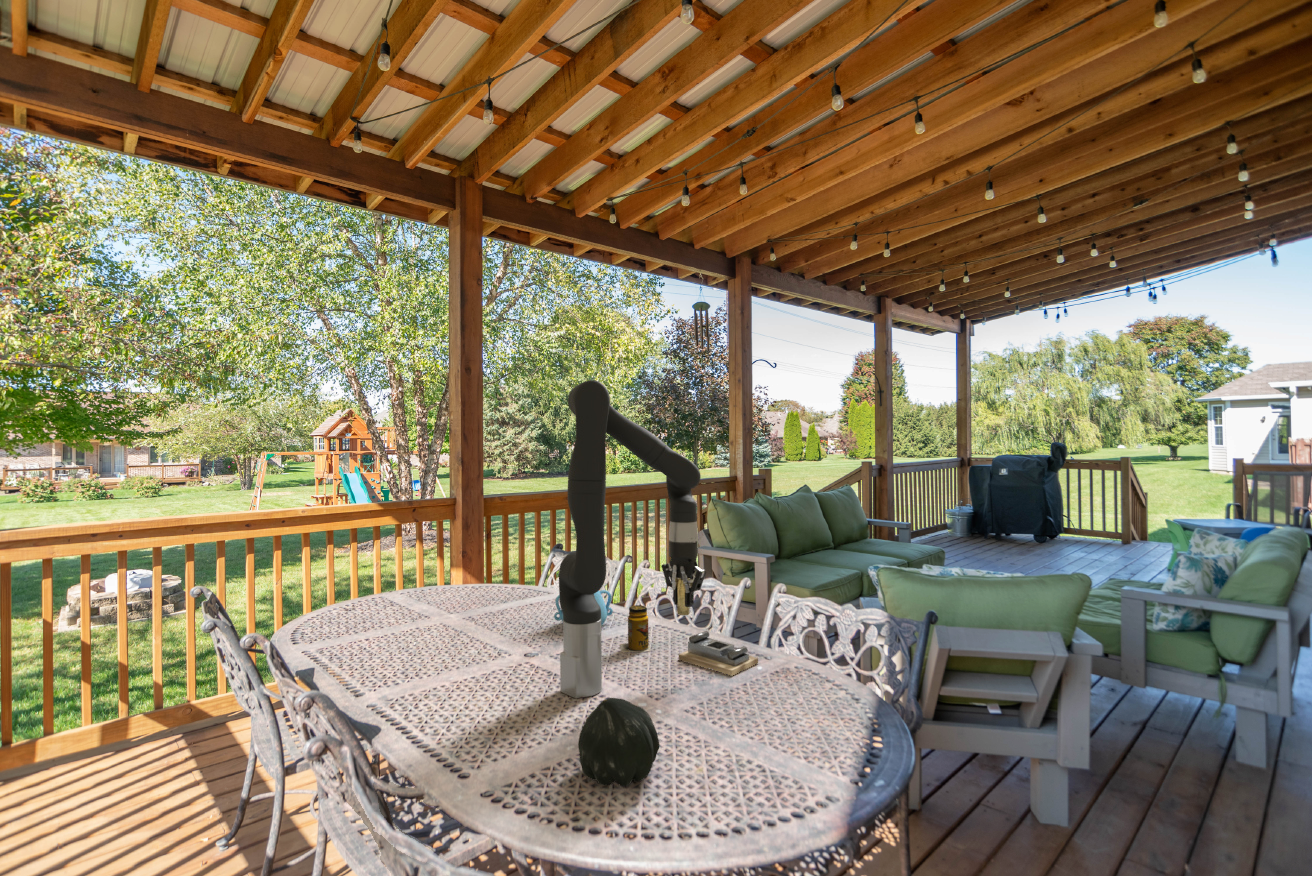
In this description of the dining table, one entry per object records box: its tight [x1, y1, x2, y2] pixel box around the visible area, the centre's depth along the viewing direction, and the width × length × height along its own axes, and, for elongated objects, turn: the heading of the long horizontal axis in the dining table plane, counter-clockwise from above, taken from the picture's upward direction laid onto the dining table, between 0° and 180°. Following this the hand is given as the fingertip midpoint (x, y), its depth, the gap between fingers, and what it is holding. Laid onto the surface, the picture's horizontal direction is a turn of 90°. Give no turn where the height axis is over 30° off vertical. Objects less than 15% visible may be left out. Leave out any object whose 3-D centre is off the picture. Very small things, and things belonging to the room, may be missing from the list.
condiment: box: [619, 604, 652, 654], centre depth 178 cm, size 7×8×12 cm
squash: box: [577, 697, 660, 787], centre depth 110 cm, size 14×15×15 cm
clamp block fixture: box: [678, 630, 759, 677], centre depth 166 cm, size 12×18×6 cm, turn 47°
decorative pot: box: [553, 589, 614, 627], centre depth 200 cm, size 20×20×14 cm
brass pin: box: [676, 578, 691, 616], centre depth 158 cm, size 3×3×9 cm
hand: (683, 605), depth 157 cm, fingers closed on brass pin, 3 cm apart
